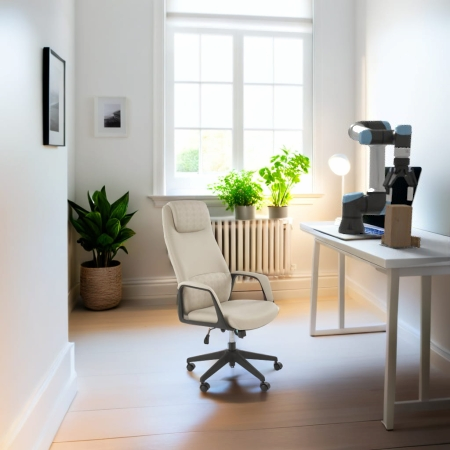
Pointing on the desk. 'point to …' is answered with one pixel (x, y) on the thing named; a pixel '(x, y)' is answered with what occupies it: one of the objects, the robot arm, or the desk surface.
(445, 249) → the desk surface
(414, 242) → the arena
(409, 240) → the wooden block
